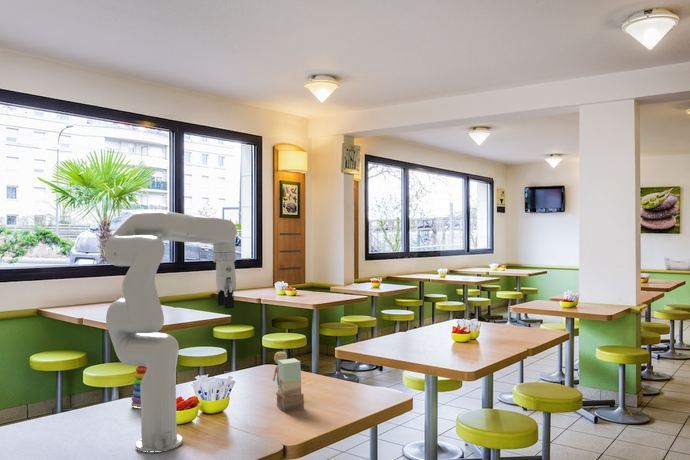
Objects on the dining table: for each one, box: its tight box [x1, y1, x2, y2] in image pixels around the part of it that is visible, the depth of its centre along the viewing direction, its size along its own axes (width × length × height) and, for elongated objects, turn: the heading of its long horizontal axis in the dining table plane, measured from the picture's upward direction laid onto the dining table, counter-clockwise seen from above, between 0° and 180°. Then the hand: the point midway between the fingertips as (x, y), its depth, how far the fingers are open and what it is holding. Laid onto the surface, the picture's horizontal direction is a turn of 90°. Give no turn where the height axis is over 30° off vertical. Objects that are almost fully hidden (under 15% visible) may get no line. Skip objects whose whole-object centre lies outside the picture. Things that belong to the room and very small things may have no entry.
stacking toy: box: [130, 366, 147, 407], centre depth 194 cm, size 8×8×19 cm
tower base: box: [276, 391, 305, 413], centre depth 188 cm, size 7×7×5 cm
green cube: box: [277, 357, 302, 382], centre depth 188 cm, size 6×6×6 cm
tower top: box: [278, 379, 302, 397], centre depth 189 cm, size 6×6×5 cm
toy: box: [272, 351, 288, 392], centre depth 208 cm, size 7×5×15 cm
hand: (225, 306), depth 192 cm, fingers open, 9 cm apart
